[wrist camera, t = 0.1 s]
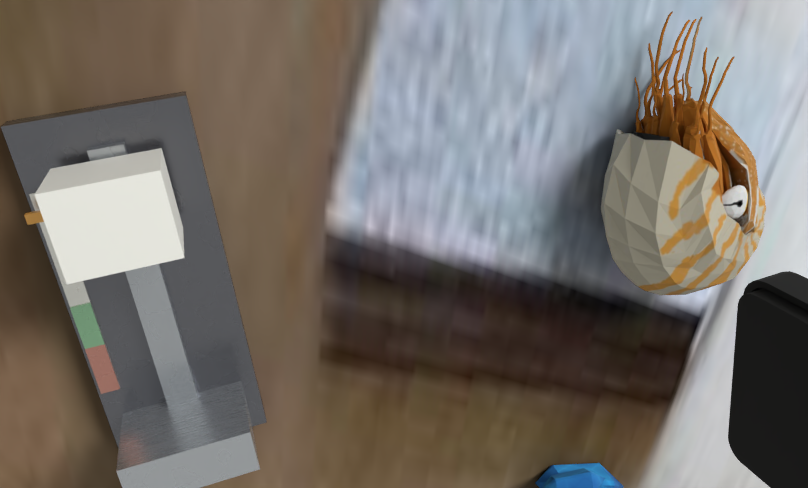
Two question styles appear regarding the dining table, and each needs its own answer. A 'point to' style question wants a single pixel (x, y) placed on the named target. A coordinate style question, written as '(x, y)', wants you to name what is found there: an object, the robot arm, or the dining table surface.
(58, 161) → the gauge bench
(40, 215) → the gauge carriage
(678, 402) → the dining table surface
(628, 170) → the nautilus
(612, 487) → the blue double-lobed piece
